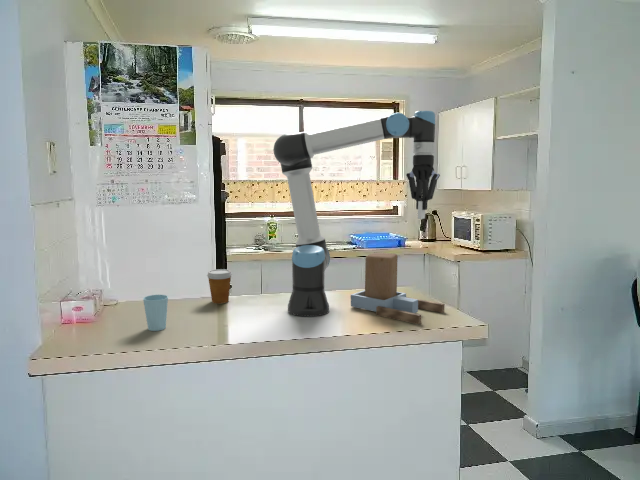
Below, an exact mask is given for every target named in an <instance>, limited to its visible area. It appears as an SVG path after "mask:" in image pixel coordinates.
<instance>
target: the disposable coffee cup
mask: <svg viewBox="0 0 640 480" xmlns="http://www.w3.org/2000/svg"><path fill="white" fill-rule="evenodd" d="M232 275H233V274H232V271H231V270H229V269H227V268H226V269H225V268H223V269H222V268H220V269H219V268H218V269H211V270H208V272H207V275H206V276H207V279H208V283H209V284H208V286H209V290H210V297H211V303H213V304H217V305H218V304H226V303H228V302H229V299H230V297H229V296H230V291H231V290H230V289H231V278H232Z"/></svg>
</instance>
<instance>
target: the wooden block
mask: <svg viewBox="0 0 640 480" xmlns="http://www.w3.org/2000/svg"><path fill="white" fill-rule="evenodd" d="M364 266H365V268H364V269H365V271H364V274H365V275H364V279H365V280H364V290H365V297H370V298H375V299H380V300H386V299H389V298H392V297H394V296H397V292H398V291H397V289H398V254H397V253H389V252H372V253H370V254H368V255H366V256H365V265H364Z"/></svg>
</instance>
